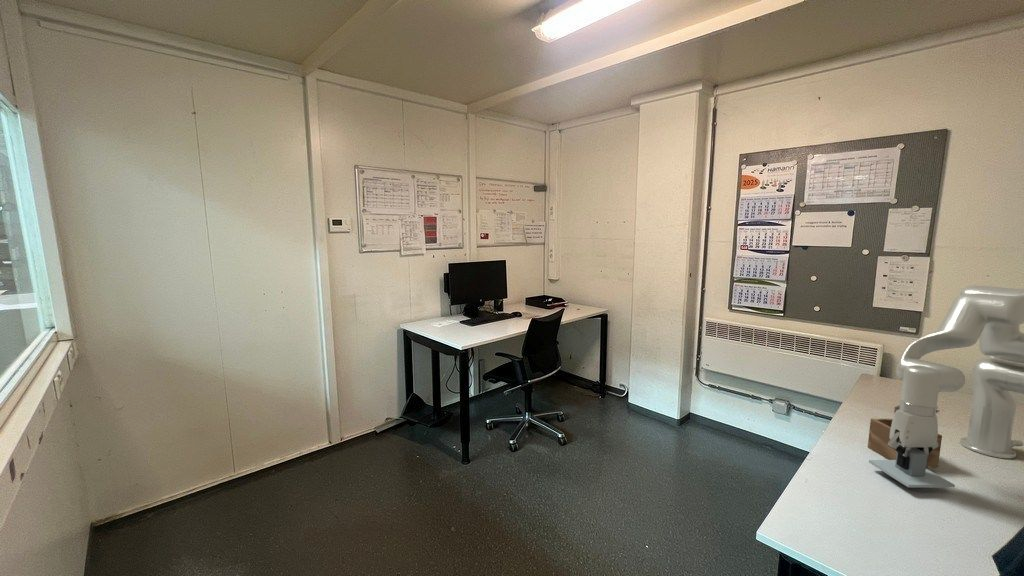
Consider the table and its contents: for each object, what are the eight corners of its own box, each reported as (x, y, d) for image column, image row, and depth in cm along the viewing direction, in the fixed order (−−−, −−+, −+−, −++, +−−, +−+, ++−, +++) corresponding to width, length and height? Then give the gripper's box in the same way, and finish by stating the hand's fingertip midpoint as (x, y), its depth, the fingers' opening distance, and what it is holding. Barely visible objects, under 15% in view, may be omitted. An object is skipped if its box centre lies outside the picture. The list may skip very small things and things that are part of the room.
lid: (909, 465, 128) (913, 438, 127) (954, 490, 115) (958, 461, 114) (868, 465, 128) (871, 438, 127) (907, 490, 115) (911, 461, 114)
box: (902, 447, 141) (905, 418, 140) (937, 466, 129) (942, 435, 128) (867, 447, 141) (870, 418, 140) (899, 466, 129) (903, 435, 128)
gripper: (933, 403, 122) (925, 460, 125) (877, 403, 123) (871, 460, 125) (960, 414, 115) (951, 474, 117) (900, 413, 115) (893, 474, 117)
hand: (910, 466), depth 121 cm, fingers closed on lid, 3 cm apart
